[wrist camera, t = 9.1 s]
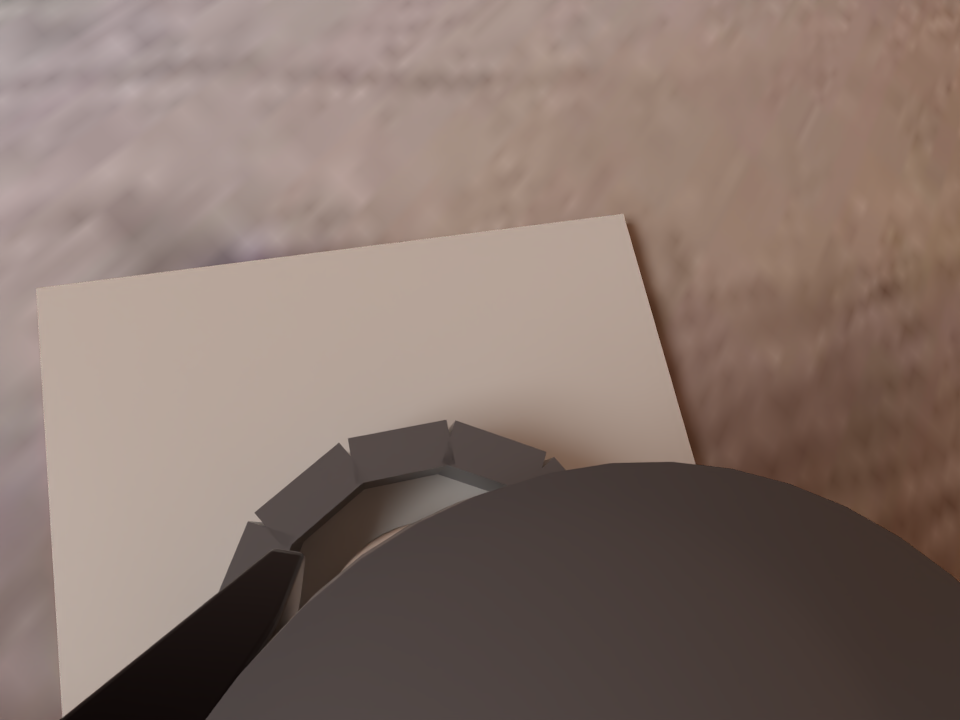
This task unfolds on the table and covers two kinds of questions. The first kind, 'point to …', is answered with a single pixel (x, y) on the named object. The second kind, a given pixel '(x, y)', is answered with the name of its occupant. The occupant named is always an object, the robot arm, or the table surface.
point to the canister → (621, 611)
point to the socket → (324, 410)
